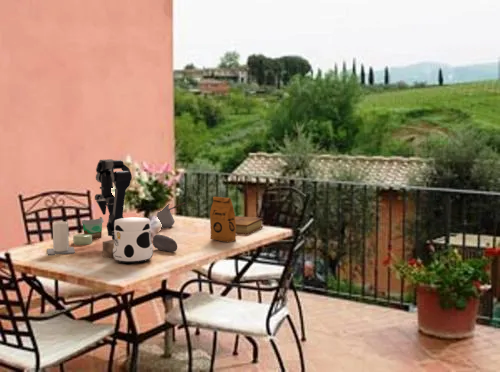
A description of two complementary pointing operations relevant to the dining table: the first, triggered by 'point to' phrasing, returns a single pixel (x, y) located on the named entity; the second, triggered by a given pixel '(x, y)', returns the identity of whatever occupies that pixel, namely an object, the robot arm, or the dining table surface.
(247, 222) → the diary
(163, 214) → the coffee pot
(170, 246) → the grey oval stone
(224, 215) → the coffee package
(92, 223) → the food container
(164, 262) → the dining table surface
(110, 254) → the walnut box
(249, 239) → the dining table surface
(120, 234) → the milk container
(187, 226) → the dining table surface
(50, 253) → the coaster
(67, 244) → the tumbler
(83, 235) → the sage green dome
